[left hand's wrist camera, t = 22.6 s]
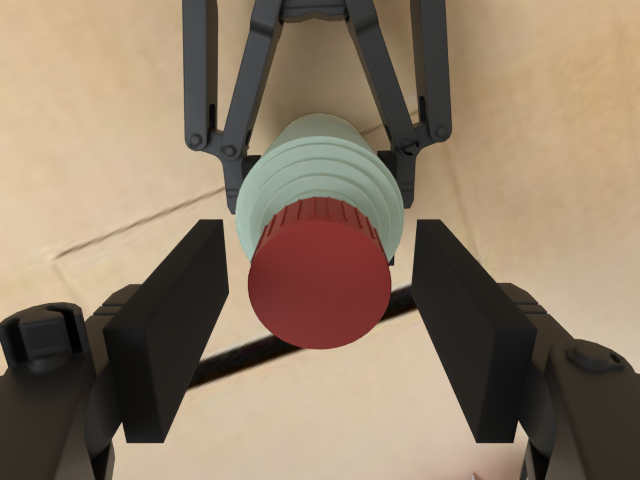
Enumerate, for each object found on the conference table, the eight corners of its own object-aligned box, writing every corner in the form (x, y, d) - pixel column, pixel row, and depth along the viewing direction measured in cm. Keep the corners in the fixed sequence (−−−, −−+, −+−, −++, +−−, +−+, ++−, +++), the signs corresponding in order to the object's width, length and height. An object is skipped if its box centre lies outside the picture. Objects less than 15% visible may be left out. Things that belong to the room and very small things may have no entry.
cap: (264, 186, 13) (252, 208, 11) (392, 204, 14) (408, 230, 11) (253, 300, 15) (240, 342, 12) (368, 314, 15) (378, 359, 13)
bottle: (252, 171, 31) (155, 295, 13) (311, 91, 29) (296, 102, 11) (327, 227, 33) (337, 409, 14) (388, 155, 31) (489, 259, 12)
